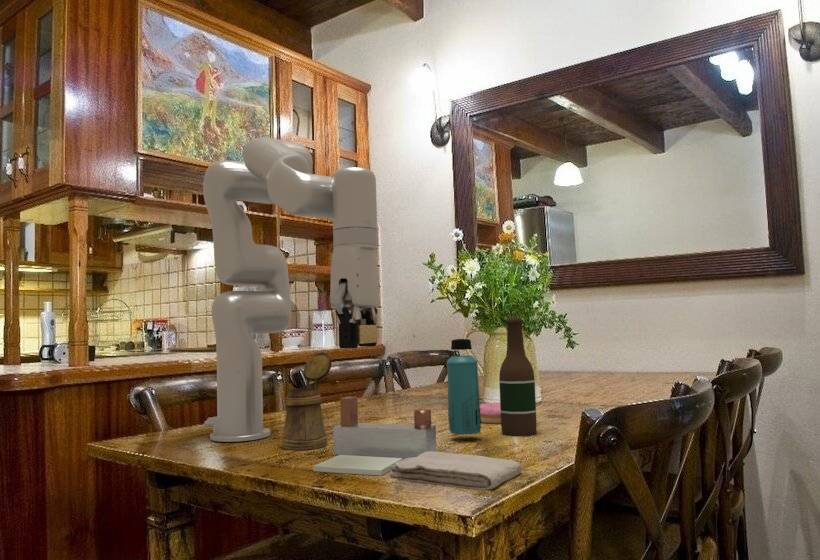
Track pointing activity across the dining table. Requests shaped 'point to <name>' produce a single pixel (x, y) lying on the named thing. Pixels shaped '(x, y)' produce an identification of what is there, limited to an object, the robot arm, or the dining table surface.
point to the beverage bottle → (463, 391)
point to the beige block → (366, 332)
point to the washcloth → (456, 470)
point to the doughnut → (490, 413)
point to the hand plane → (382, 435)
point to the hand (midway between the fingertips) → (358, 346)
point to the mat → (357, 465)
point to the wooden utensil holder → (306, 409)
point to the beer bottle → (517, 385)
